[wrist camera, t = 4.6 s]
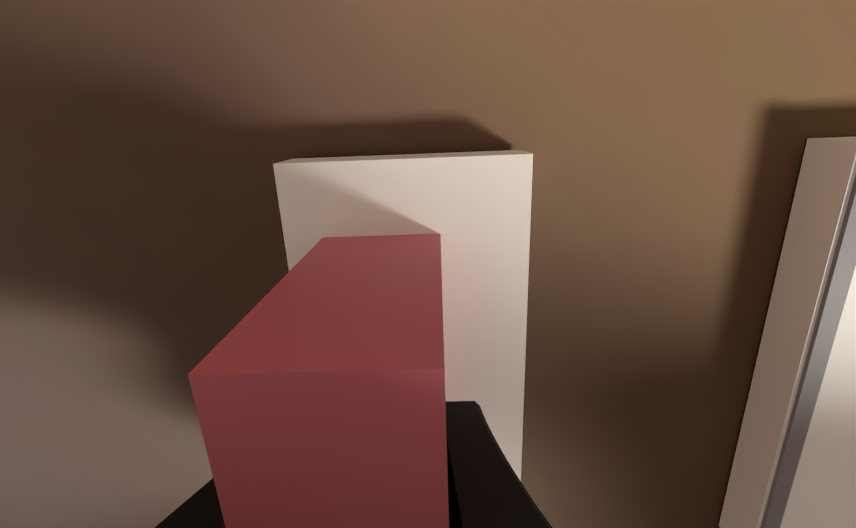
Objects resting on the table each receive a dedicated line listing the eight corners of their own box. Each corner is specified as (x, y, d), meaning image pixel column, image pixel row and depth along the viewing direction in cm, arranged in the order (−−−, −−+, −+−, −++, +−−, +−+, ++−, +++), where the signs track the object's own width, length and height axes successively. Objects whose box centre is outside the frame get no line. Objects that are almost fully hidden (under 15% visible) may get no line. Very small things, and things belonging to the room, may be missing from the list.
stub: (510, 532, 13) (572, 883, 7) (343, 533, 13) (264, 878, 7) (521, 149, 9) (665, 199, 3) (292, 158, 9) (54, 219, 4)
